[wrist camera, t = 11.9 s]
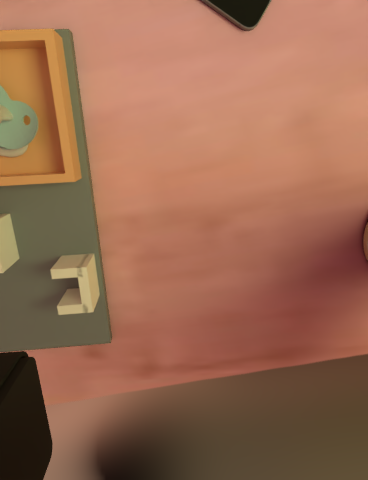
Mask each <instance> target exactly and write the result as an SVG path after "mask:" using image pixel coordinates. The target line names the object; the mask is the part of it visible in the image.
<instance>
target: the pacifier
mask: <svg viewBox="0 0 368 480" xmlns="http://www.w3.org/2000/svg"><path fill="white" fill-rule="evenodd" d="M25 116H29V117H30V120H31V121H30V124H29V125H26V124H25V123H24V117H25ZM37 130H38V117H37V115H36V113H35V111H34V110H33V109H32V108H31V107H30V106H29V105H27V104H26V103H23V102H21V101H13V100H11V99H10V98H9V96H8V94H7V92H6V91H5V90H4V88H3V87H2V86H1V85H0V156H5V157H18V156H20V155H23V154H24V153H25V152H26V150H27V148H28V144H29V143H30V142H31V141H32V140H33V139H34V137H35V136H36V133H37Z"/></svg>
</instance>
